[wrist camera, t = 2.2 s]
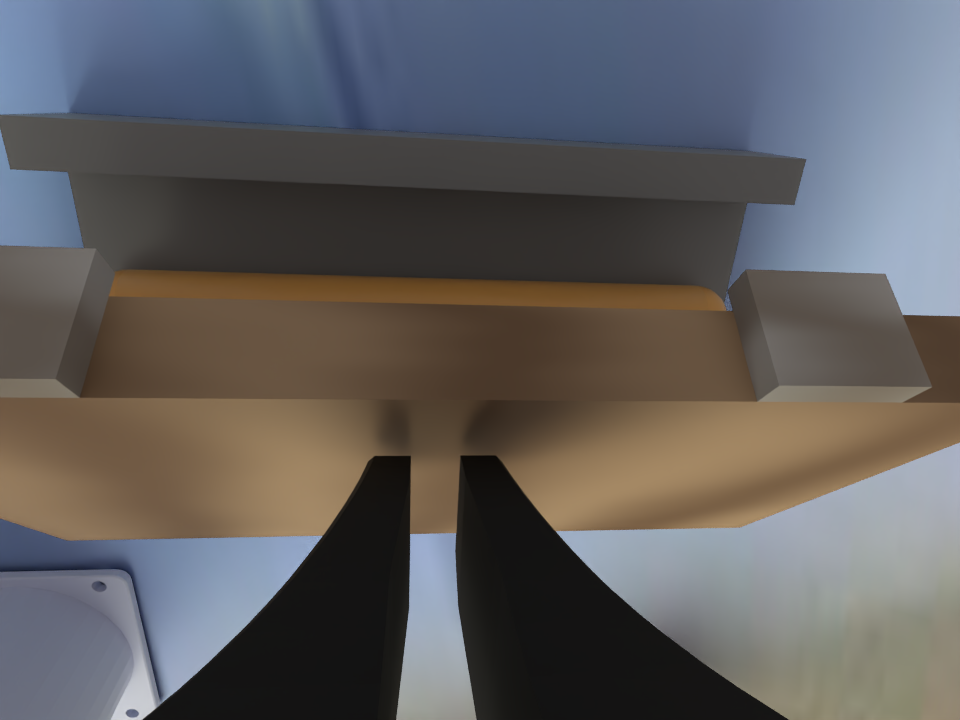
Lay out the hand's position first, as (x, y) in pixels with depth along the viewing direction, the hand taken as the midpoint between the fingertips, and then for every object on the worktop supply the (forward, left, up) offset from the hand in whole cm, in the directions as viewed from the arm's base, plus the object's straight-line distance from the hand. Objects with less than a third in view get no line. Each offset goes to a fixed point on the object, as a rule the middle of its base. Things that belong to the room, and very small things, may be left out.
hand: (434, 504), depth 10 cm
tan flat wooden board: (0, 0, -4) cm, 4 cm away
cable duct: (0, 0, -10) cm, 10 cm away
